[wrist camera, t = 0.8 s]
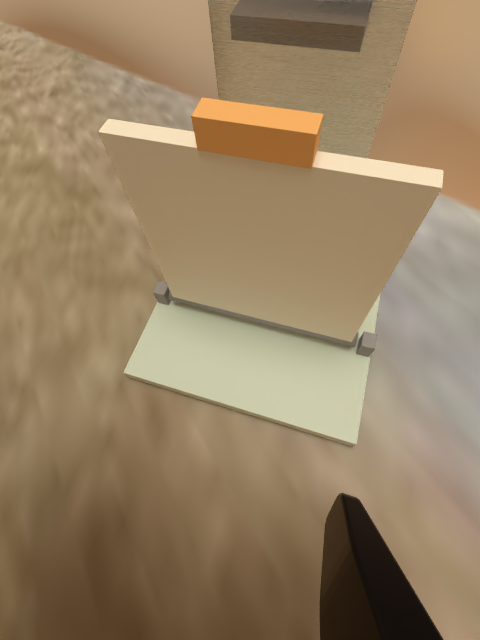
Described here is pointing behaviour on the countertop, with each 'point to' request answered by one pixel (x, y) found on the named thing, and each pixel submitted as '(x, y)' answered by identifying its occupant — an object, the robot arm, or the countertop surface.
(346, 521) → the robot arm
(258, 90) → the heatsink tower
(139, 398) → the countertop surface
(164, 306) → the pale green base plate
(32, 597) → the countertop surface
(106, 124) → the hinged cream panel
